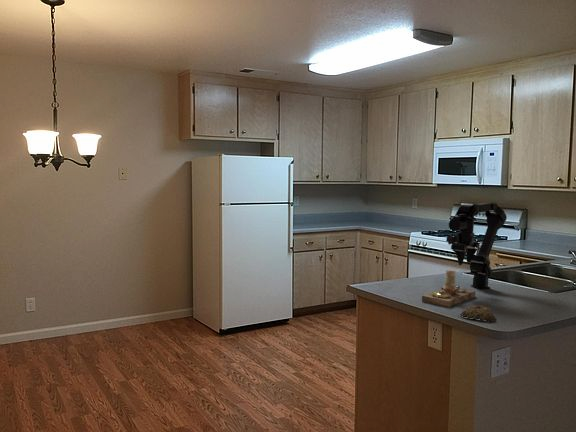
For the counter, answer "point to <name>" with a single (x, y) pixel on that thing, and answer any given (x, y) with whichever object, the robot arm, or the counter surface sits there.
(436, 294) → the gear
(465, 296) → the gear board
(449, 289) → the idler gear
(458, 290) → the gear
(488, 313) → the bread roll
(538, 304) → the counter surface
